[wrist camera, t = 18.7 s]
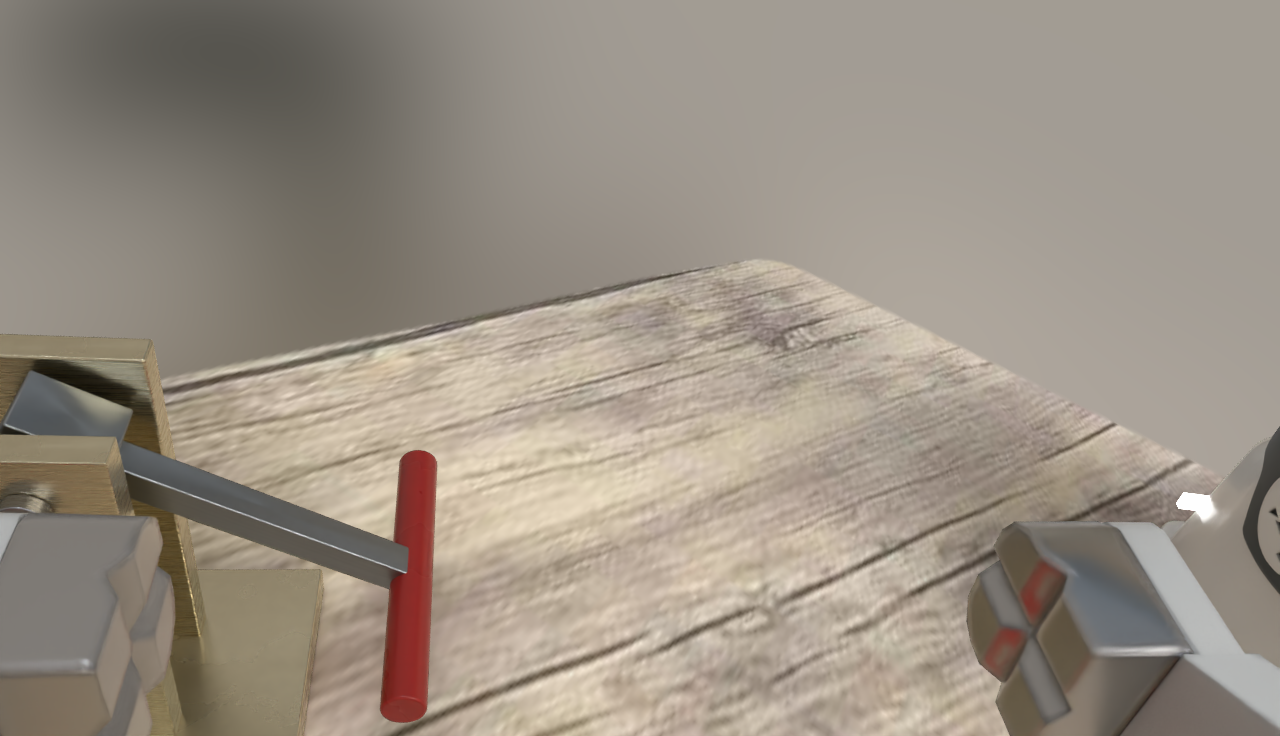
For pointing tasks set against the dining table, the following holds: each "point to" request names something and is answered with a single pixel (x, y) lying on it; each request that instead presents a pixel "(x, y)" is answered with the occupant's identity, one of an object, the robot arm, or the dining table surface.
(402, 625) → the lever
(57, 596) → the robot arm
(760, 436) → the dining table surface
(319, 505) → the dining table surface
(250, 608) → the bracket
